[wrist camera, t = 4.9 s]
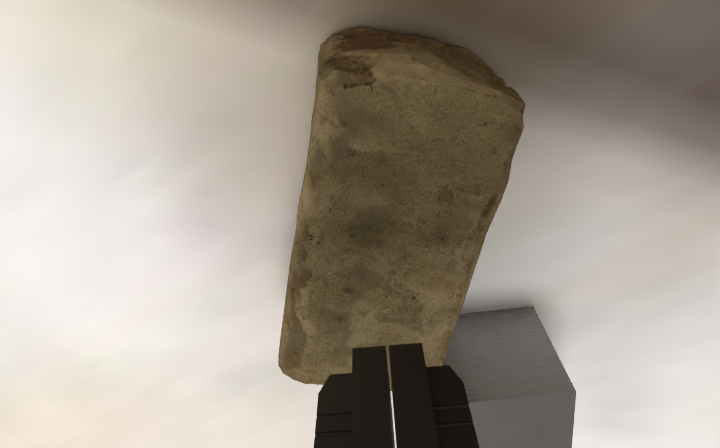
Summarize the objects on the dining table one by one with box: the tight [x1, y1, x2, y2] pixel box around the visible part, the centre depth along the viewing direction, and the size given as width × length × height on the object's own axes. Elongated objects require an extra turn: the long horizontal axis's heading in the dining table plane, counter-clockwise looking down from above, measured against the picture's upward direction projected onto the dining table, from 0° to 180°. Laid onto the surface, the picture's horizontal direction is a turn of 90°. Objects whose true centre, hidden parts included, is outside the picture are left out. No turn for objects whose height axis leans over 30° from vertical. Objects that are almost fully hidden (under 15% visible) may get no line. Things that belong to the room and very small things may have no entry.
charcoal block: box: [442, 306, 576, 448], centre depth 22 cm, size 5×5×5 cm
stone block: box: [279, 27, 526, 391], centre depth 18 cm, size 6×12×5 cm, turn 171°
